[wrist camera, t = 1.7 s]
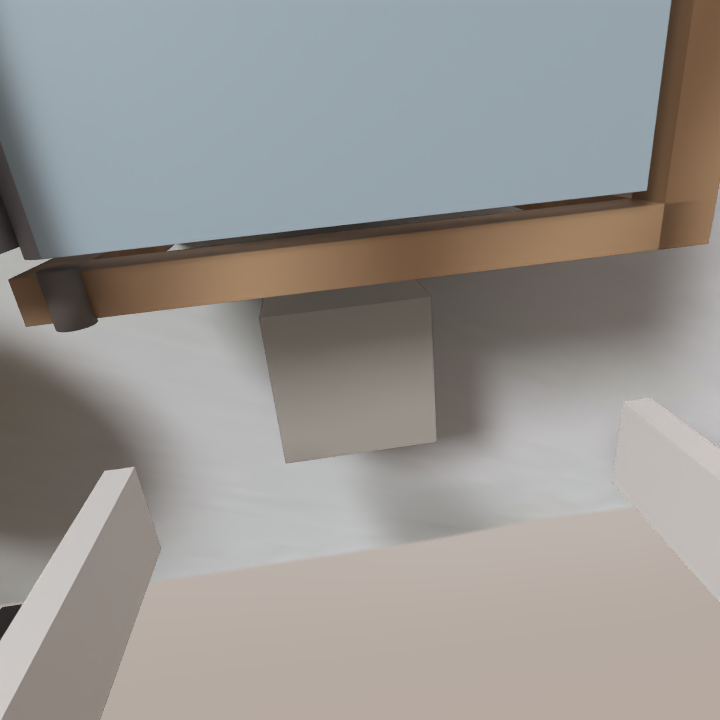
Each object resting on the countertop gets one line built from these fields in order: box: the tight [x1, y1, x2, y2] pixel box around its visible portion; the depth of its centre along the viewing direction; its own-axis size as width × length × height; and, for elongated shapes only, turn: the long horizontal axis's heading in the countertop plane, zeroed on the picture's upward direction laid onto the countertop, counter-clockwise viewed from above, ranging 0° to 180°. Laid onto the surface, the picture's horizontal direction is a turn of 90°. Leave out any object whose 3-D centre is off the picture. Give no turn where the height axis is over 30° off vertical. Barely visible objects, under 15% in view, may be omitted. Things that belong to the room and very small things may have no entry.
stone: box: [259, 279, 437, 463], centre depth 22 cm, size 6×6×6 cm
